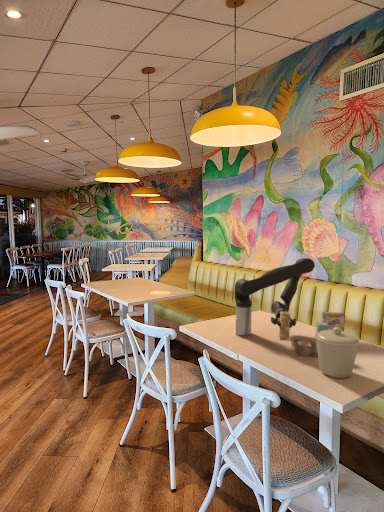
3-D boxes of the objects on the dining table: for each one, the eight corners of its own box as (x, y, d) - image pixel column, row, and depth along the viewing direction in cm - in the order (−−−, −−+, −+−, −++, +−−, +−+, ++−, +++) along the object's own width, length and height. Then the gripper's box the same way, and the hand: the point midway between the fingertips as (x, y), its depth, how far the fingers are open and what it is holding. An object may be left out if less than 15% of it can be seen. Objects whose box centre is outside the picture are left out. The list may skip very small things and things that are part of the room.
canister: (305, 370, 150) (307, 326, 148) (328, 361, 161) (330, 318, 158) (343, 386, 135) (345, 337, 133) (366, 375, 146) (368, 328, 144)
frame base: (297, 355, 167) (298, 325, 165) (293, 342, 185) (294, 314, 183) (331, 357, 164) (332, 326, 163) (323, 344, 182) (324, 316, 180)
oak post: (280, 340, 170) (281, 313, 169) (279, 337, 175) (280, 311, 173) (289, 340, 170) (290, 314, 168) (288, 337, 174) (289, 312, 173)
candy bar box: (323, 342, 185) (324, 314, 183) (320, 339, 190) (321, 311, 188) (344, 343, 184) (345, 314, 182) (341, 339, 189) (342, 312, 187)
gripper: (269, 309, 186) (271, 317, 170) (295, 310, 184) (300, 319, 167) (269, 322, 187) (270, 331, 170) (295, 323, 185) (299, 333, 168)
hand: (285, 325), depth 169 cm, fingers closed on oak post, 4 cm apart
